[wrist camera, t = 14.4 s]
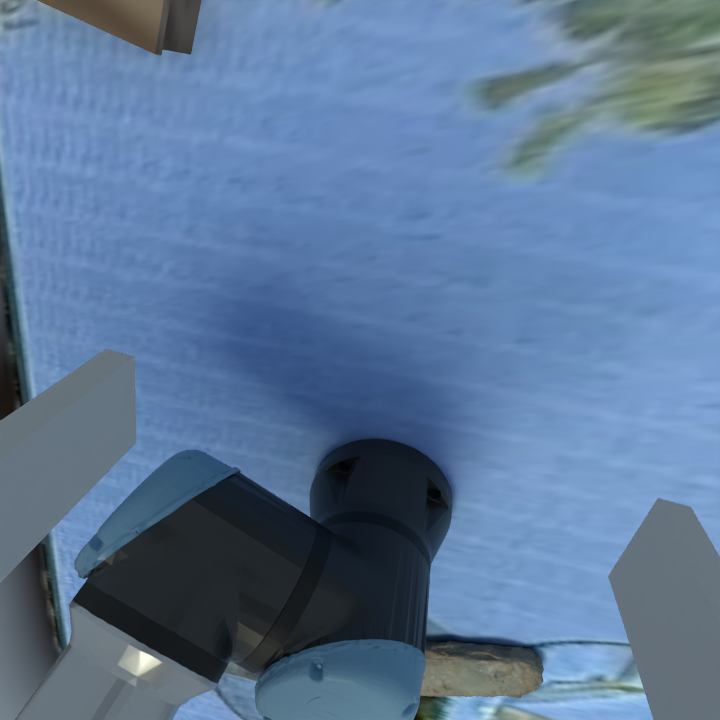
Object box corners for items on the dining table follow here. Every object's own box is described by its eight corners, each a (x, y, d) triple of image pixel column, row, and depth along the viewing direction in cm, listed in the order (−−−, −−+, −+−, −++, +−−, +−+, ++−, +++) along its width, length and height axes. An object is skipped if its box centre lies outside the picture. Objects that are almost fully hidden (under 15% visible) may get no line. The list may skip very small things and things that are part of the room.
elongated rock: (543, 674, 66) (534, 619, 63) (552, 716, 61) (542, 658, 58) (293, 683, 74) (273, 633, 70) (283, 720, 69) (260, 669, 66)
